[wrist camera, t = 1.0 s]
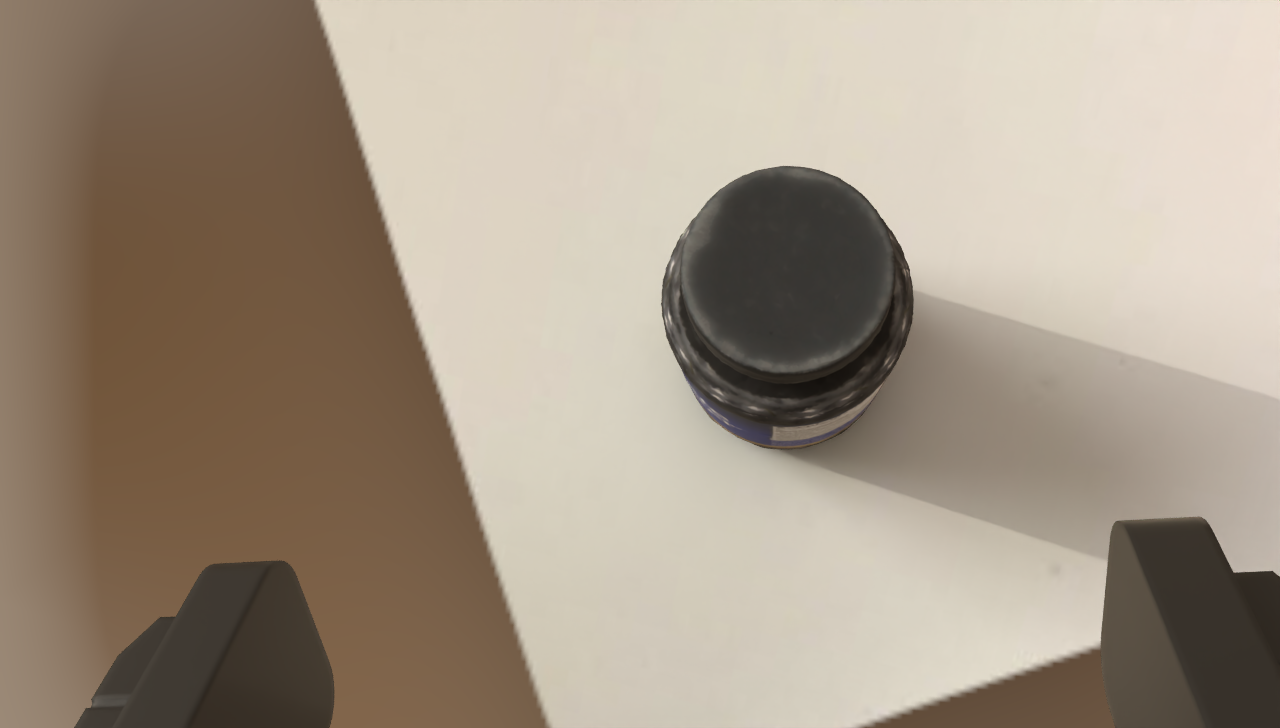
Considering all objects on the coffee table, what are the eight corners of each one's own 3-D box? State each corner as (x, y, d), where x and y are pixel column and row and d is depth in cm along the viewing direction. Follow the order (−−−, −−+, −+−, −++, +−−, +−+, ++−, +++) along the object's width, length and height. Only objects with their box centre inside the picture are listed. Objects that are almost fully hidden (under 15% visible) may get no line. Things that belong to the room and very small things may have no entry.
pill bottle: (655, 301, 37) (603, 195, 26) (836, 224, 37) (859, 86, 26) (731, 484, 36) (709, 450, 25) (919, 406, 36) (978, 340, 25)
